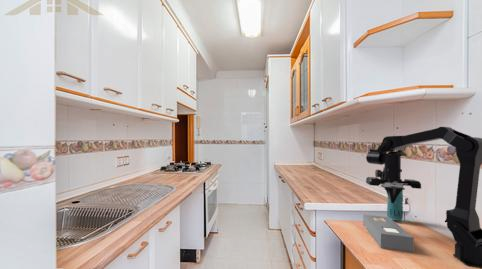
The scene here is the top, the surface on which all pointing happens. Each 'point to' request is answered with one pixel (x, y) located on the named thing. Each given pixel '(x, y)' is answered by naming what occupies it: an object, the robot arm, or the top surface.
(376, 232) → the collar block
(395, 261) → the top surface
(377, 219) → the birch peg
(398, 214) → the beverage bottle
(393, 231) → the white peg
